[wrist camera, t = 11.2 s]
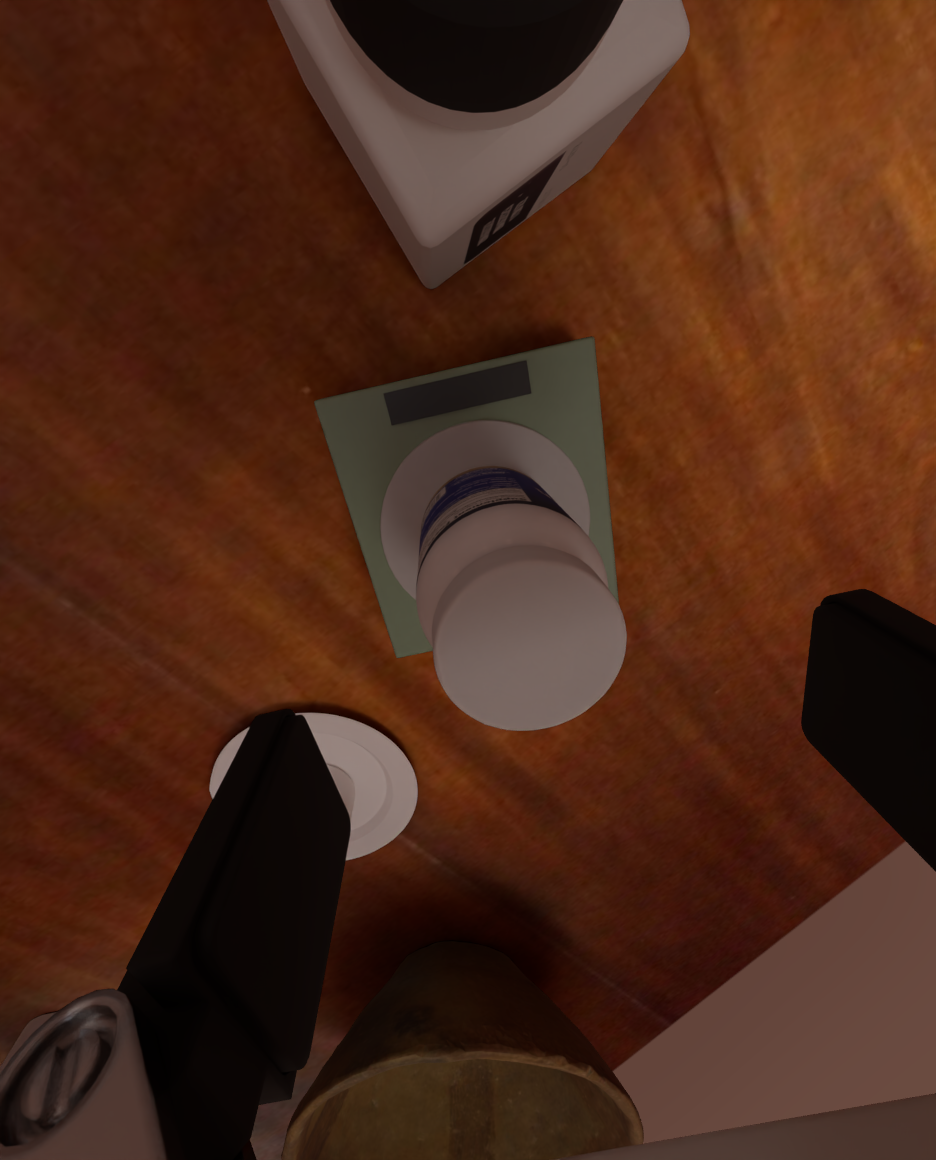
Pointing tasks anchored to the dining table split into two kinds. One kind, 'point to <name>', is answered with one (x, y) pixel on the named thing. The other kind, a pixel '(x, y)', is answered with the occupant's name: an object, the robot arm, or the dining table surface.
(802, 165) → the dining table surface
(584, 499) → the scale
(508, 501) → the pill bottle
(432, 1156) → the bowl
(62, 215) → the dining table surface
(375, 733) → the candle holder
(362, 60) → the container
